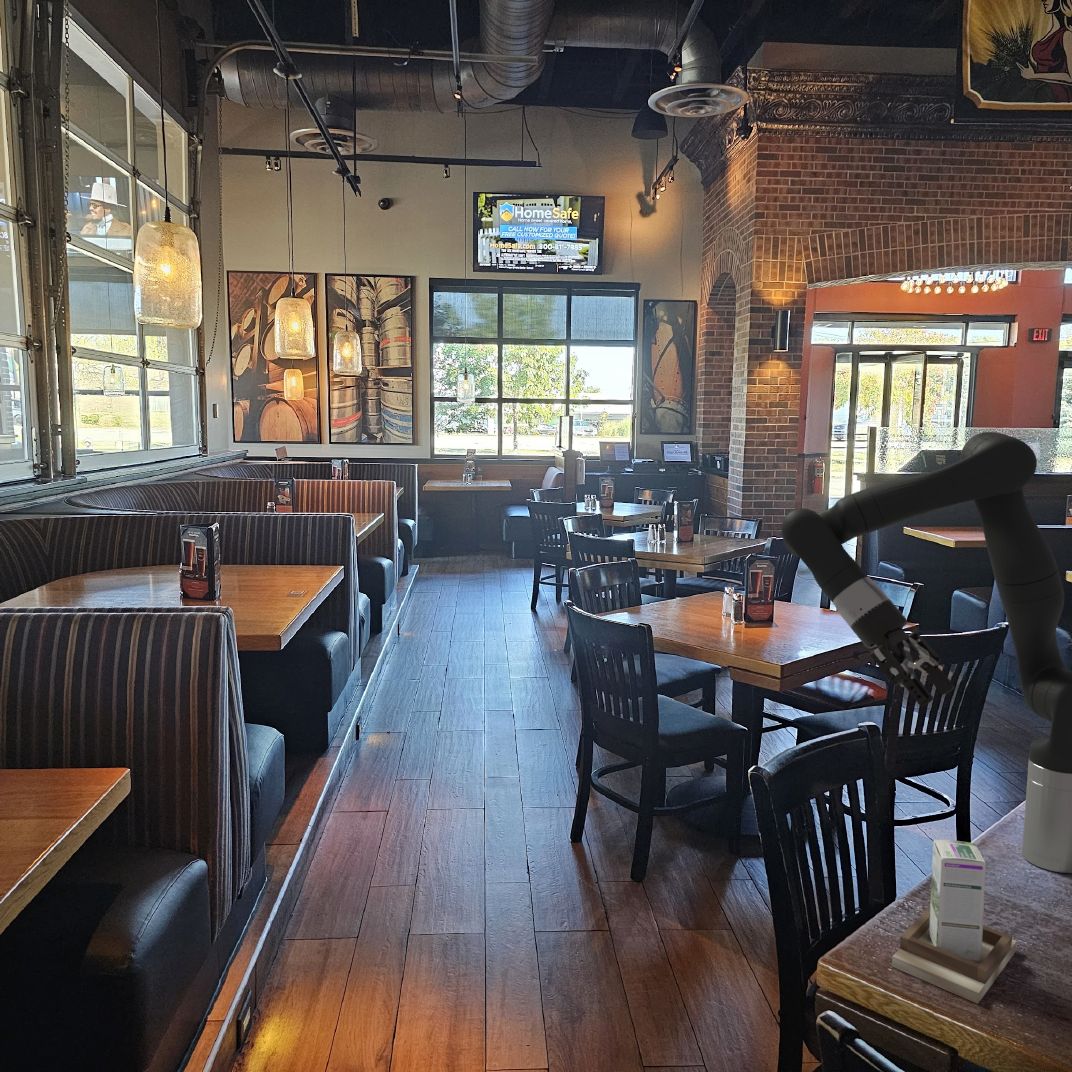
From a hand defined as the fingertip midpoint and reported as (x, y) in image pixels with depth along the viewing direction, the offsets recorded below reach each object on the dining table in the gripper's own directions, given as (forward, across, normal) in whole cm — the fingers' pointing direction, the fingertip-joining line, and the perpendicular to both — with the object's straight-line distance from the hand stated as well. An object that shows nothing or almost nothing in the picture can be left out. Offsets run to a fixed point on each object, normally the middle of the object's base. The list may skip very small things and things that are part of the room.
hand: (939, 697), depth 131 cm
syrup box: (+28, -13, +16) cm, 35 cm away
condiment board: (+29, -13, +17) cm, 36 cm away
